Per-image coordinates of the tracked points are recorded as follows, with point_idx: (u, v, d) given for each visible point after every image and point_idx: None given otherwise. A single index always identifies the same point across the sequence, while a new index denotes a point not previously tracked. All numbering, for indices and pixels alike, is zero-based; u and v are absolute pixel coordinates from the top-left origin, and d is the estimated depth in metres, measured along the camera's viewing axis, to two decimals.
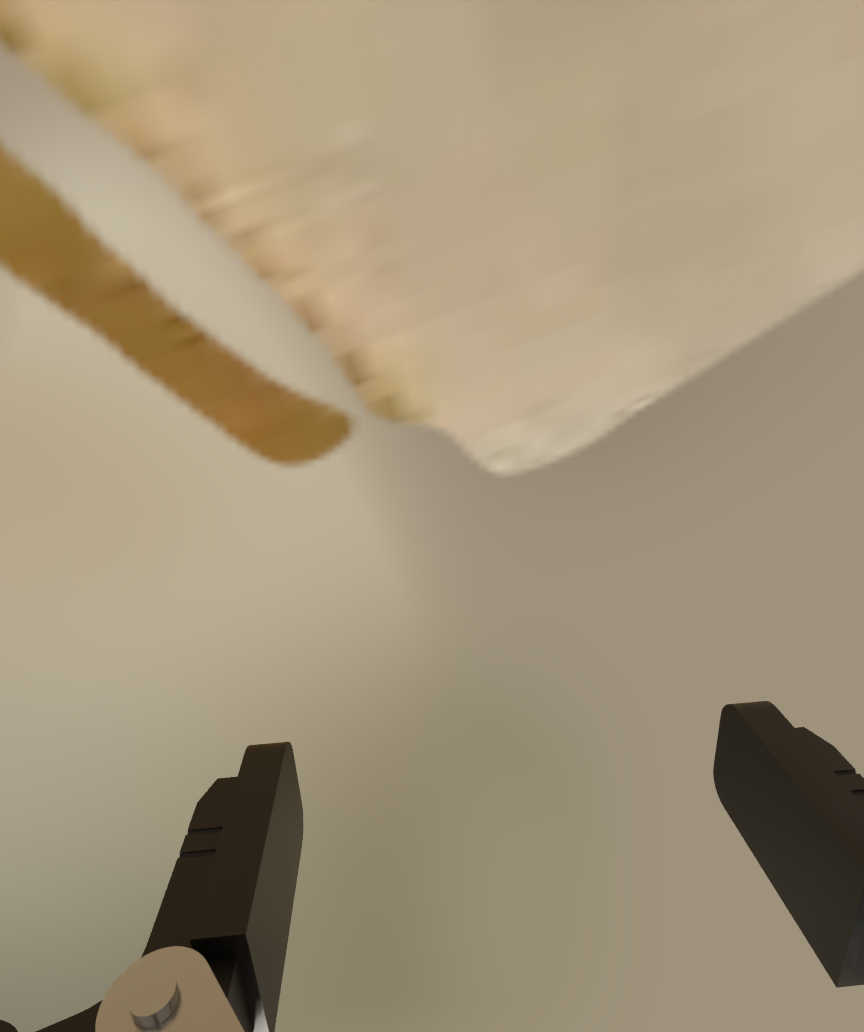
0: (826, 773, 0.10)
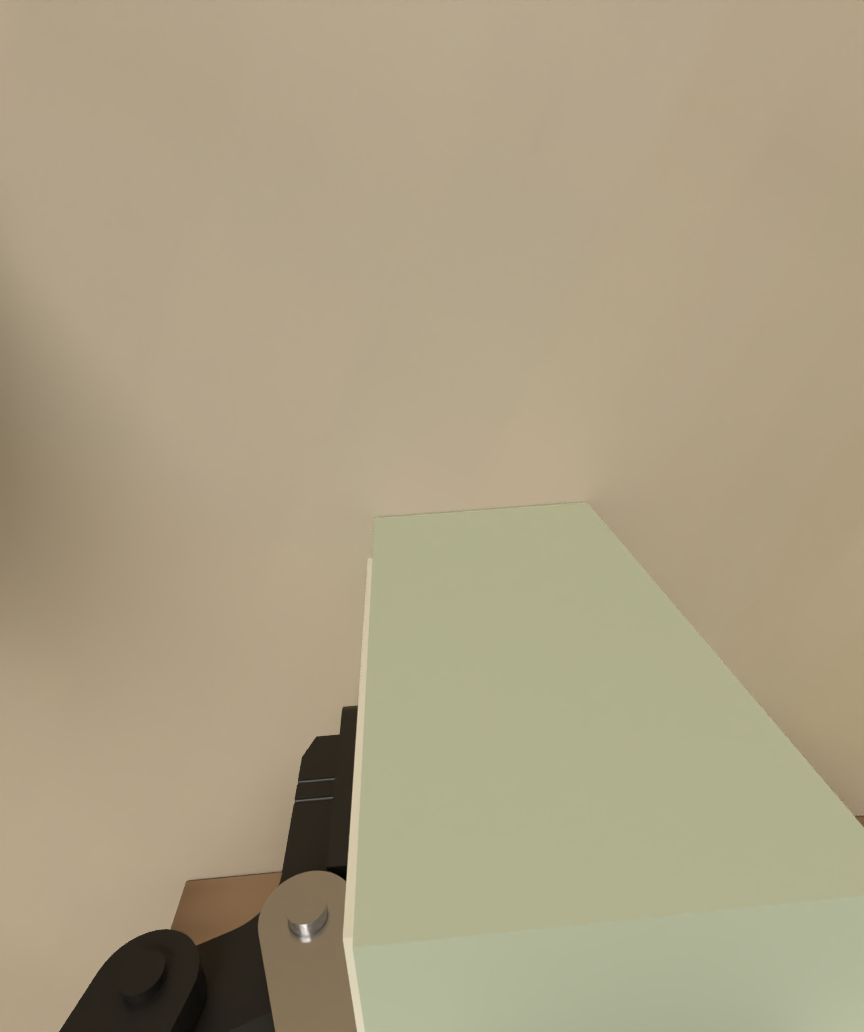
0: None
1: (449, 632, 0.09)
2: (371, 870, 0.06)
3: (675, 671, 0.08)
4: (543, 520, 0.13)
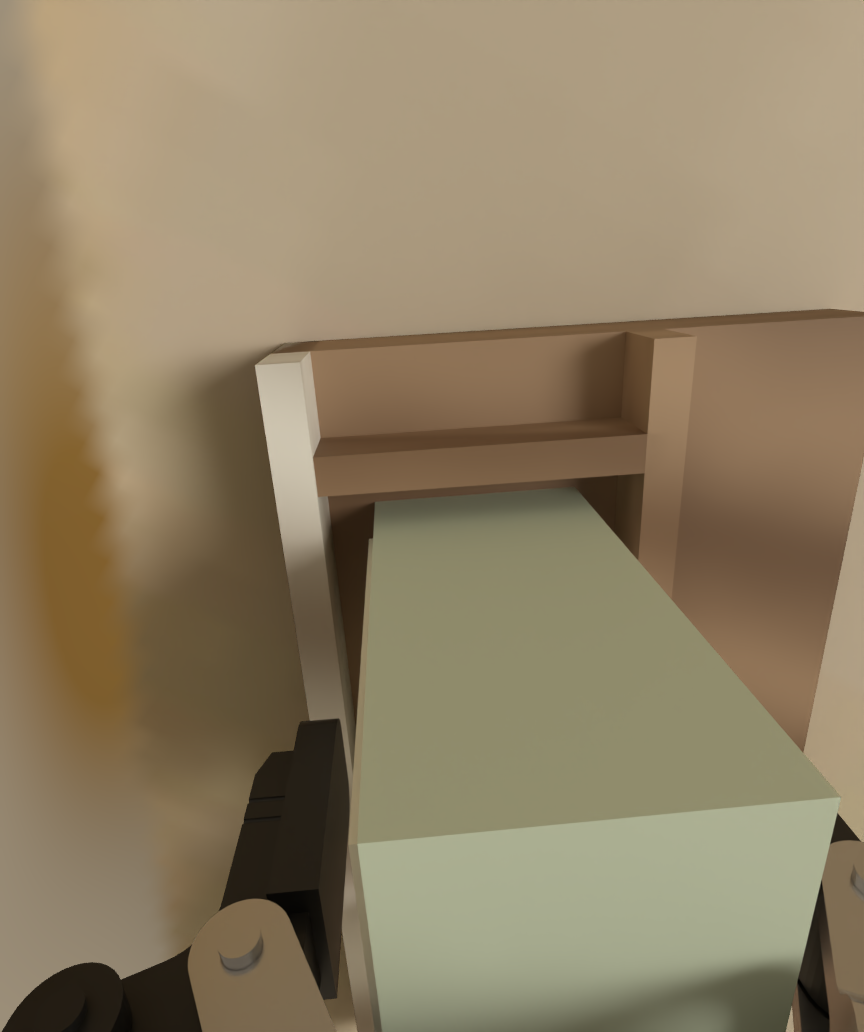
0: None
1: (444, 600, 0.10)
2: (373, 787, 0.06)
3: (647, 629, 0.09)
4: (533, 503, 0.13)
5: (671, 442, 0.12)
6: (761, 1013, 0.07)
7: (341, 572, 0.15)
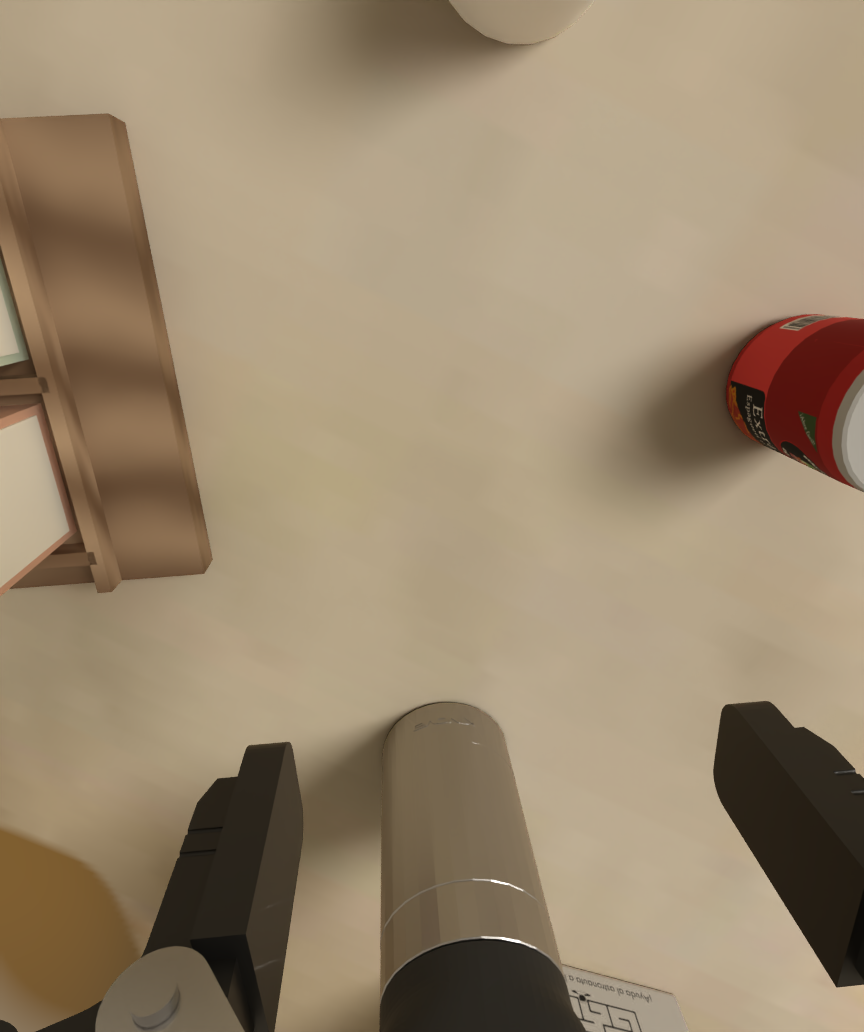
0: (826, 773, 0.10)
1: None
2: None
3: None
4: None
5: None
6: None
7: None
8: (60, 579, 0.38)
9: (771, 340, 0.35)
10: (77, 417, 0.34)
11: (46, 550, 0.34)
